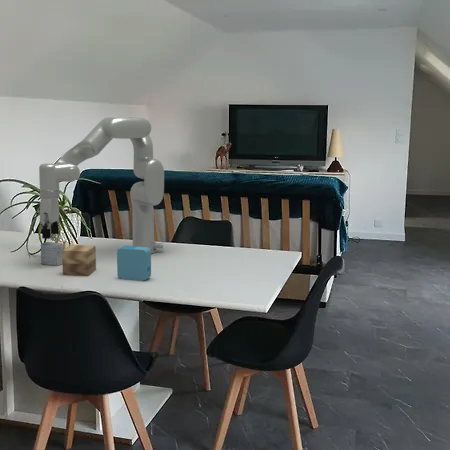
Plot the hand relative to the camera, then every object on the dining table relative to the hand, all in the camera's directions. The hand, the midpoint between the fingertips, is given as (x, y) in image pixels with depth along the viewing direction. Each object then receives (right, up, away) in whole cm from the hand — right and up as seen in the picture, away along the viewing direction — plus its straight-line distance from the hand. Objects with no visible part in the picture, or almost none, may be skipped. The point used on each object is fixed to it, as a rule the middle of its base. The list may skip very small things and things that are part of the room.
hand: (50, 236), depth 242 cm
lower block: (+14, -14, -10) cm, 22 cm away
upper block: (+14, -9, -11) cm, 20 cm away
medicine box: (0, -12, +2) cm, 12 cm away
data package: (+37, -16, -17) cm, 43 cm away
